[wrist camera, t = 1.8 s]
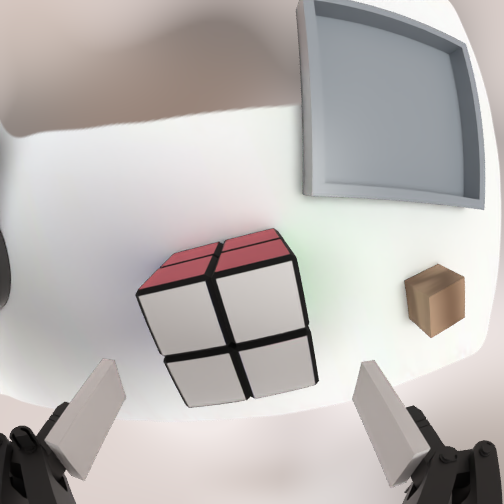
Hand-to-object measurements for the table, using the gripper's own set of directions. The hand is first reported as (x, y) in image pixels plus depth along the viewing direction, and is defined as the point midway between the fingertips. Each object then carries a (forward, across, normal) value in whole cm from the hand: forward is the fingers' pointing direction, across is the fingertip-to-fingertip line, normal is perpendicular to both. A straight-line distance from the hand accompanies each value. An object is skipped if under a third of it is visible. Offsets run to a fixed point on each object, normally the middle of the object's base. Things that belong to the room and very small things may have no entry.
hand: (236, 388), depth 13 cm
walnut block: (+14, +20, -1) cm, 25 cm away
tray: (+14, +16, +19) cm, 28 cm away
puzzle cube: (+14, 0, 0) cm, 14 cm away
